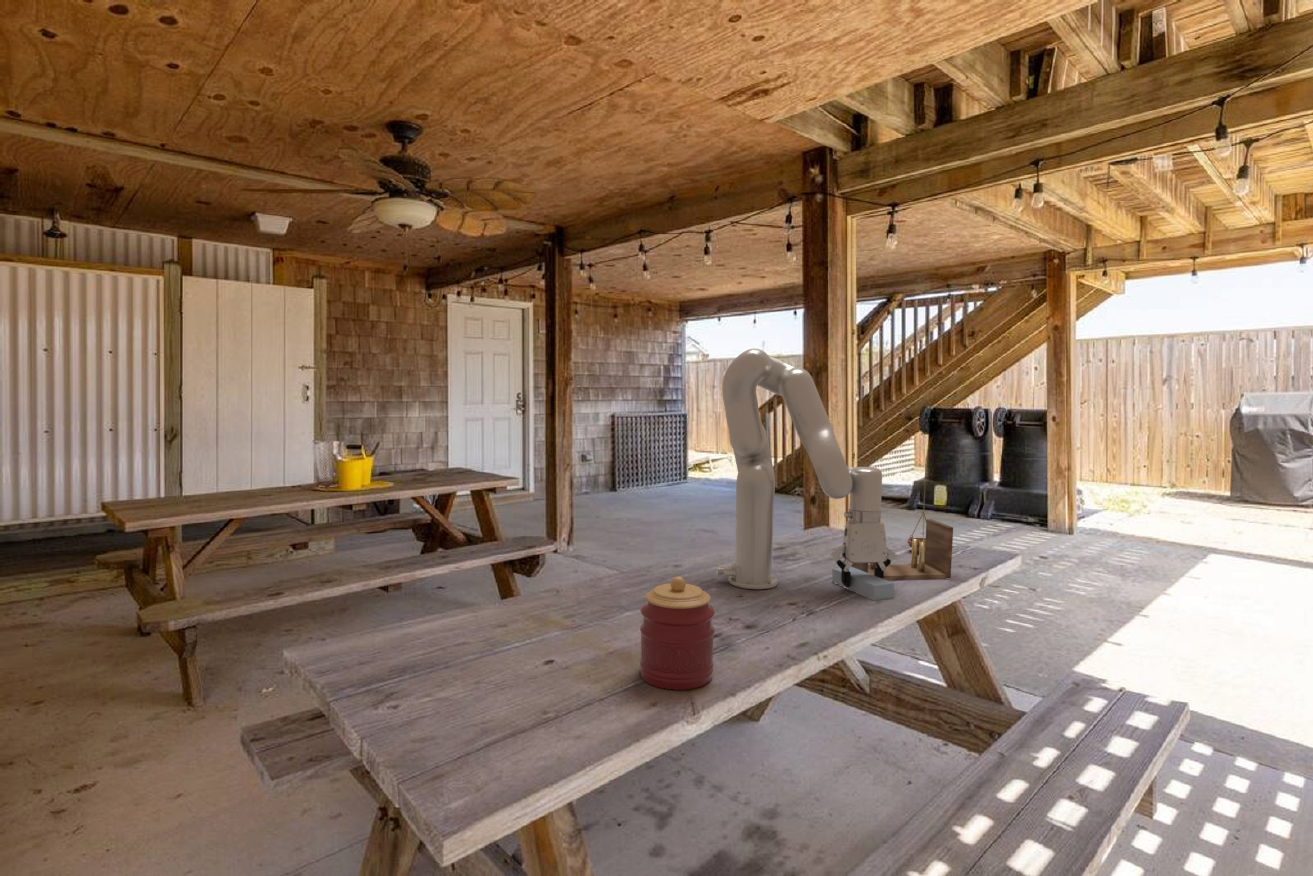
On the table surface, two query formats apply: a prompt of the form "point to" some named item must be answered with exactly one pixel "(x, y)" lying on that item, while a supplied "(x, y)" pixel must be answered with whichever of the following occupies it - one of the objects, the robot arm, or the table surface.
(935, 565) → the shelf frame
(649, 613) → the canister
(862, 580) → the shelf board
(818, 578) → the table surface
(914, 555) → the shelf pegs
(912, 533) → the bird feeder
